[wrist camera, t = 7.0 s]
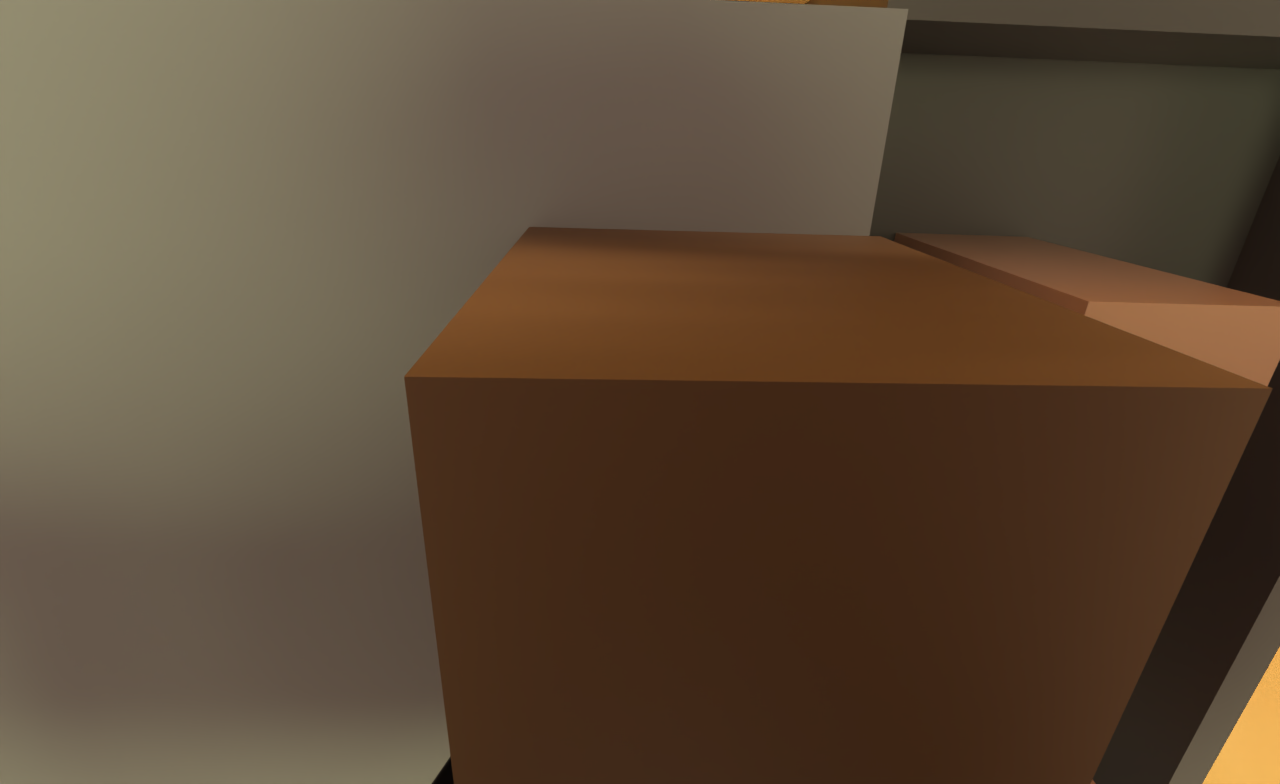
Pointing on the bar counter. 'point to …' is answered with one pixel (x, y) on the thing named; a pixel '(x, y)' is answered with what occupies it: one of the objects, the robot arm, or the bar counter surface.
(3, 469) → the board
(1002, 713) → the brown wooden plank
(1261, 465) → the tray
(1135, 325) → the tile
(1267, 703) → the bar counter surface
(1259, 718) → the bar counter surface
